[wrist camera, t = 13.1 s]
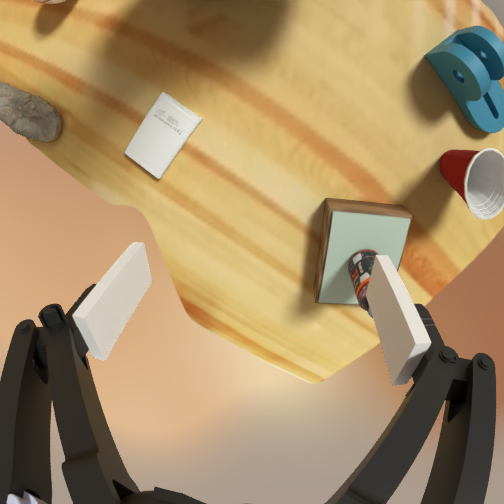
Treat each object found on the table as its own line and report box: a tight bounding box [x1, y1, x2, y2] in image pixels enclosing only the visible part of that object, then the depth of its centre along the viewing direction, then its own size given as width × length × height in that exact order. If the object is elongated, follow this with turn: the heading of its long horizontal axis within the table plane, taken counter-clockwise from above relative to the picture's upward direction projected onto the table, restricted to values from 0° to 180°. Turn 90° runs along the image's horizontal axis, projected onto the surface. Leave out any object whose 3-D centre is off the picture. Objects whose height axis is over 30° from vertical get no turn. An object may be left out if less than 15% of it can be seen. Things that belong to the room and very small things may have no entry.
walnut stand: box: [314, 198, 412, 304], centre depth 47 cm, size 18×14×5 cm
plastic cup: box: [440, 148, 504, 220], centre depth 34 cm, size 11×11×12 cm
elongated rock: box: [0, 82, 62, 143], centre depth 38 cm, size 35×5×10 cm
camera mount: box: [424, 26, 504, 133], centre depth 27 cm, size 18×10×10 cm, turn 46°
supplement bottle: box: [348, 249, 379, 318], centre depth 40 cm, size 6×6×11 cm
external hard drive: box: [125, 92, 203, 179], centre depth 42 cm, size 2×8×12 cm
